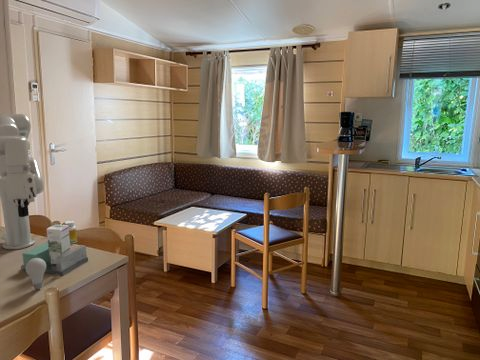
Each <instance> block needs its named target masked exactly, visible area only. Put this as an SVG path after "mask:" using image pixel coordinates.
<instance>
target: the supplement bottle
mask: <svg viewBox="0 0 480 360" xmlns="http://www.w3.org/2000/svg"><path fill="white" fill-rule="evenodd" d="M63 225H68V227H69V239H70V245H73V244H76V243H78V236H77V235H78V233H77V226H76V225H75V221H74V220H68V221H65V222H64V224H63Z"/></svg>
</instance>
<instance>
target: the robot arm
mask: <svg viewBox="0 0 480 360" xmlns="http://www.w3.org/2000/svg"><path fill="white" fill-rule="evenodd" d="M31 128H32V126H31V121H30V118H29V117H28V116H27V115H25V114H23V113H12V114H11V113H3V114H2V113H1V114H0V202H1V206H2V217H3V223H4V232H5V233H4V234H3V235H2V236H1V237H0V239H1V240H2V241H3V240H4V242H3V244H2V248H3V249H4V250H21V249H25V248H28V247H31V246H33V245H35V243H36V239H35V238H33V237H32V235H31V234H32V233H31V226H30V224H31V223H30V217H29V215H30V213H29V206H30V203H33V202H35V198H36V197H37V196H38V195H40V194H41V193H43V191H44V190H45V189H44V188H45V184H44V179H43V176H42V173H41V169H40V166H39V164H38V161H37V160H36V159H35V158H34V157H31V156H30V155H29V151H30V149H31V144H30V140H29V136H30V132H31Z"/></svg>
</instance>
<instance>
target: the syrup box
mask: <svg viewBox="0 0 480 360" xmlns="http://www.w3.org/2000/svg"><path fill="white" fill-rule="evenodd" d="M46 237H47V242H48V248H49V258H50V264H54V265H56V258H57V257H59V256H61V255H63V254H65V253H67V252H69V251H71V250H72V249H71V244H70V239H69V227H68V225H65V224H53V225H51V226H49V227H48V228H46Z"/></svg>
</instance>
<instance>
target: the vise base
mask: <svg viewBox="0 0 480 360" xmlns="http://www.w3.org/2000/svg"><path fill="white" fill-rule="evenodd" d="M70 250H71V251H69V252H67V253H65V254H63V255H61V256H59V257H57V258H56V265H54V264H50V261H49V262H47V263H46V270H45V272H44V274H50V275H57V276H65V275H67V274H69V273H70V272H71V271H74V270H75V269H77V268H79V267H80V266H82V265H84V264H85V263H87V262H89V257H88V255H87V244H86V245H84V244H81V245H79V246H77V247H75V248H72V249H70ZM20 270H22V271H26V266H24V264H22V265H20Z"/></svg>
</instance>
